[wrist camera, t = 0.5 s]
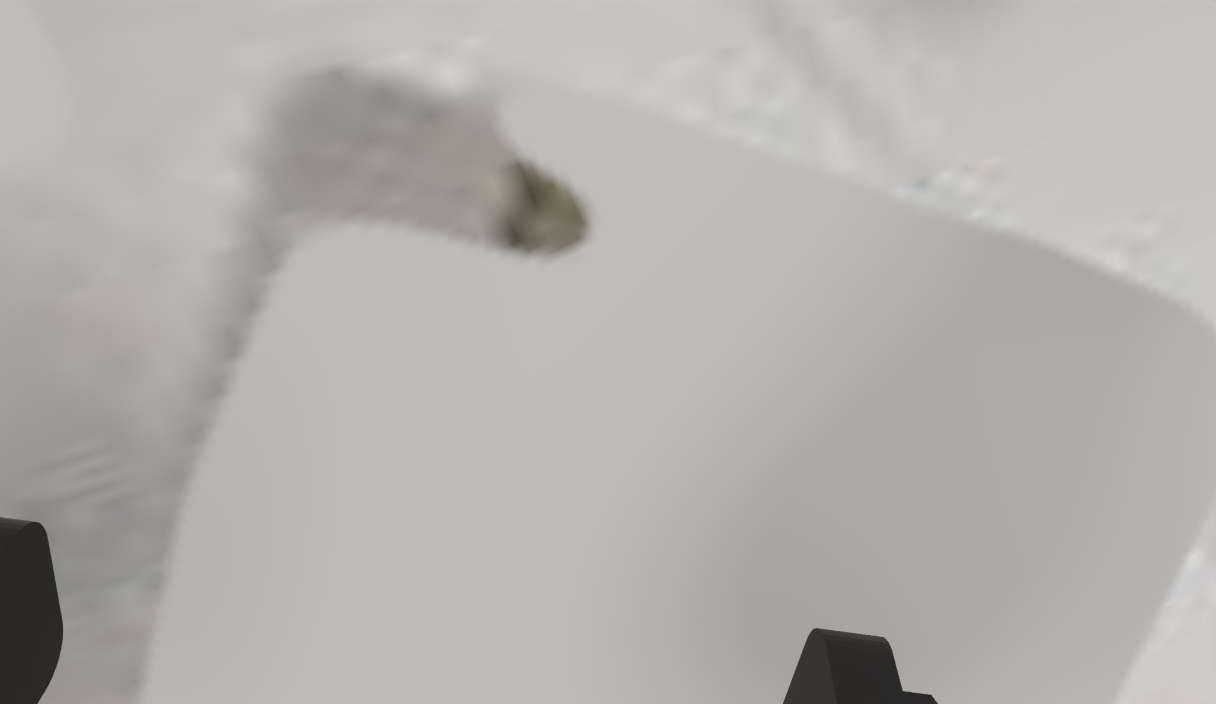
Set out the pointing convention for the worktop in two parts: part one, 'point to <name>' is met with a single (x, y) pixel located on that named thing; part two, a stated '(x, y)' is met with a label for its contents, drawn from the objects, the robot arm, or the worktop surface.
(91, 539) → the worktop surface
